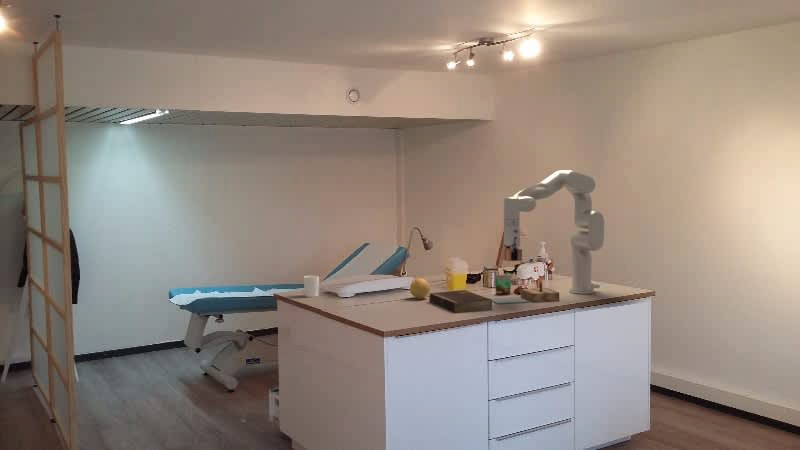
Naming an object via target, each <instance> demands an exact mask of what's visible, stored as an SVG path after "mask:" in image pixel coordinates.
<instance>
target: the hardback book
mask: <svg viewBox="0 0 800 450" xmlns="http://www.w3.org/2000/svg"><path fill="white" fill-rule="evenodd" d="M428 297H429V299H428V300H429V302H430V303H432V304H433V305H436V306H439V307H441V308H442V309H445V310H449V311H450V312H453V313H455V314H457V313H467V312H468V313H469V312H479V311H480V312H481V311H491V310H492V311H493V302H492V300H491V299H489V298H490V297H489V298H488V297H486V296H483V295H479V294H477V293H475V292H471V291H468V290H465V289H462V290H452V291H450V290H449V291H440V292H439V291H438V292H429V294H428Z"/></svg>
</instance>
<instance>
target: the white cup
mask: <svg viewBox="0 0 800 450" xmlns="http://www.w3.org/2000/svg"><path fill="white" fill-rule="evenodd" d="M319 289H320V276H319V275H313V274H311V275H304V276H303V291H304V297H306V298H317V297H319ZM316 296H317V297H316Z"/></svg>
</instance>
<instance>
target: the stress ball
mask: <svg viewBox="0 0 800 450" xmlns="http://www.w3.org/2000/svg"><path fill="white" fill-rule="evenodd" d="M430 286H431V285H430V283H429V282H428V281H427V280H426V279H424V278H421V277H420V278H419V277H418V278H416V279H413V280H412V281H411V284H410V286H409V292H410V294H411V295H412V297H414V298H416V299H418V300H421V299H424V298H426V297H427V296H429V295H430V290H431V287H430Z"/></svg>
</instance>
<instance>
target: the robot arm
mask: <svg viewBox="0 0 800 450" xmlns="http://www.w3.org/2000/svg"><path fill="white" fill-rule="evenodd" d="M563 188H565V189H566V190H567V191H568V193H570V195H571V196H572V198H573V201H574V219H573V220H574V226H575V227H577V228H578V229H585V230H586V231H585V230H578V231H575V232H573V233H572V235H570V236H571V237H570V247H571V252H572V253H571V254H572V258H571V259H572V264H571V265H572V268H571V272H572V273H571V278H572V280H571V288H569V289H568V292H569V293H571V294H577V293H578V294H579V295H580V294H581V295H588V294H589V295H590V294H594V293H595V289H599V288H601V285H600V284H599V283H597V284H594V283H592V255H591V251H592V252H598V251H600V250H601V249H602V247H603V246H604V241H605V217H604V215H603V214H602V212H600V211H599V210H594V209H593V204H592V203H593V201H592V196H591V195H590V194H591V193H592V192H593V191H594V190H595V189H596V181H595V180H594V178H593V177H591V176H590V175H587V174H583V173H581V172H578V171H575V170H571V169H570V170H569V169H568V170H563V169H562V170H557V171H555V172H553V173H552V174H550V175H549V176H547V177H546V178H545V179H542V181H540V182H538V183H536V184H535V183H534V184H533V185H531V186H529V187H526V188H524V189H521V190H520V191H519V192H517V193H515V194H514V195H513V196H505V197H504V199H503V226H504V228H503V244H504V245H503V246H504V247H503V248H511V249H512V252H511V260H512V261H511V262H514V261H513V260H518V249H520V246H521V231H520V217H521V216H520V215H521V214H520V213H521V212H522V213H523V212H524V213H531V212H532V211H534V210H535V209H536V207H537V202H536V201H538V200H539V201H540V200H543V199H547V198H549V197H550V198H551V196H553V195H554V194H555V193H557V192H558V191H560V190H562V189H563ZM587 230H588V231H587Z"/></svg>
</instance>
